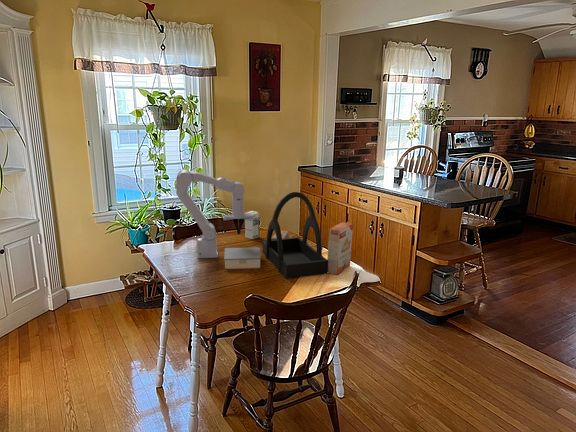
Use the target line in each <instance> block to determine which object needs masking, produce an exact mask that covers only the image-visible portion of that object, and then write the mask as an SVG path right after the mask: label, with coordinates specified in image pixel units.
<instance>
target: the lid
mask: <svg viewBox="0 0 576 432" xmlns="http://www.w3.org/2000/svg"><path fill="white" fill-rule="evenodd" d="M223 257H224V258H223V260H224V261H225V260H250V259H260V260H261V259H262V256H261V250H260V247H225V248H224V255H223Z"/></svg>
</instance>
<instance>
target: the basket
mask: <svg viewBox="0 0 576 432" xmlns="http://www.w3.org/2000/svg"><path fill="white" fill-rule="evenodd" d="M294 198H299V199H301V200H302V201H303V202H304V204H305V205H306V207H307V210H308V213H309V216H308V217H307V218H306V220H305V223H304V226H303V230H302V231H303V233H302V239H301V237H299V236H298V237H292V238H286V239H282V235H281V230H282V229H281V226H280V223H279V216H280V213H281V212H282V209H283V208H284V206H285V205H286V204H287V203H288V202H289V201H290V200H292V199H294ZM310 228H312V229H313V233H314V237H315V242H316V249H314V248H313V247H312V246H310V245H309V244H308V236H309V231H310ZM273 232H274V234H275V233H276V238H277V239H276V240H271V238H272V236H273ZM322 244H323V243H322V235H321V230H320V226H319V223H318V221H317V218H316V213H315V210H314V207H313V205H312V203H311V200H309V197H308V196H306V195H305V194H304V193H302V192H298V191H292V192H288V193H287V194H285V195H284V196H283V197H282V198H281V199H280V200H279V202H278V204H277V205H276V207H275V210H274V211H273V216H272V219H271V220H270V222H269V224H268V227H267V234H266V240H262V254H263V255H264V257H265V259H266V260H269V262H270V263H271V264H272V265H273V266H274V267H275V268H276V269H277V273H279V274H281V275H282V276H283V277H284V278H285V279H286V280H289V279H297V278H298V279H299V278H305V277H306V278H307V277H314V276H320V275H321V276H322V275H328V274H329V273H328V260H327V258H326V257H324V256H323V246H322Z"/></svg>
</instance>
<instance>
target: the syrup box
mask: <svg viewBox="0 0 576 432" xmlns="http://www.w3.org/2000/svg"><path fill="white" fill-rule="evenodd" d="M244 214H247V215H253V219H244V230H245V231H244V233H245V236H244V237H245V238H246V239H250V240H254V239H257V238H260V211H259V212H258V211H255V210H251V211H246V212H244Z"/></svg>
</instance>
